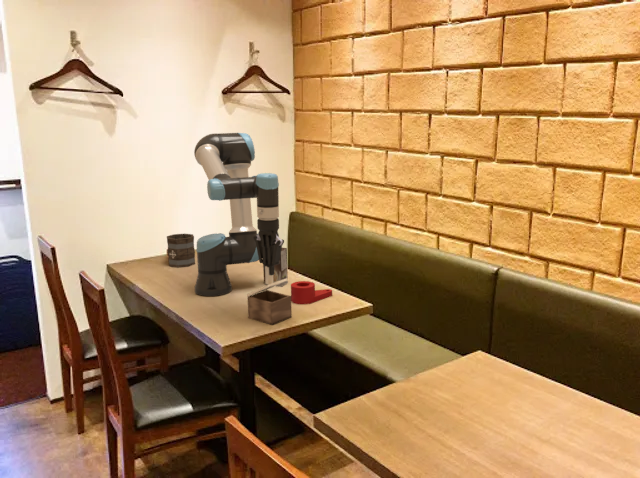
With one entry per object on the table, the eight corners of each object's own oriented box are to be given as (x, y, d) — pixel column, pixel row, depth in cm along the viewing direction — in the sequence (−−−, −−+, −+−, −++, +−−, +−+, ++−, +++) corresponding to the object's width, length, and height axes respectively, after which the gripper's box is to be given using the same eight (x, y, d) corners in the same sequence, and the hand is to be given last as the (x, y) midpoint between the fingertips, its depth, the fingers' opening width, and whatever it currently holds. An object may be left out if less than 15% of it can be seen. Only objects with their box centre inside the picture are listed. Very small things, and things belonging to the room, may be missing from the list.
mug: (201, 266, 274) (199, 236, 271) (175, 272, 266) (173, 240, 262) (182, 259, 289) (180, 230, 286) (157, 264, 280) (155, 234, 277)
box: (248, 317, 205) (247, 296, 203) (267, 310, 212) (267, 289, 211) (272, 325, 197) (271, 303, 196) (291, 317, 205) (291, 296, 203)
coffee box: (288, 283, 246) (287, 247, 242) (282, 287, 240) (281, 251, 236) (269, 281, 249) (268, 246, 245) (263, 285, 243) (261, 249, 240)
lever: (298, 306, 217) (298, 289, 216) (287, 299, 225) (286, 283, 223) (337, 298, 226) (337, 282, 225) (325, 292, 234) (325, 276, 233)
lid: (247, 296, 203) (246, 294, 203) (266, 289, 211) (266, 287, 211) (268, 286, 195) (267, 284, 195) (287, 280, 203) (286, 277, 203)
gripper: (247, 217, 198) (249, 282, 203) (274, 222, 190) (275, 289, 195) (262, 214, 203) (263, 277, 209) (289, 218, 196) (289, 284, 201)
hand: (269, 283), depth 202 cm, fingers closed
